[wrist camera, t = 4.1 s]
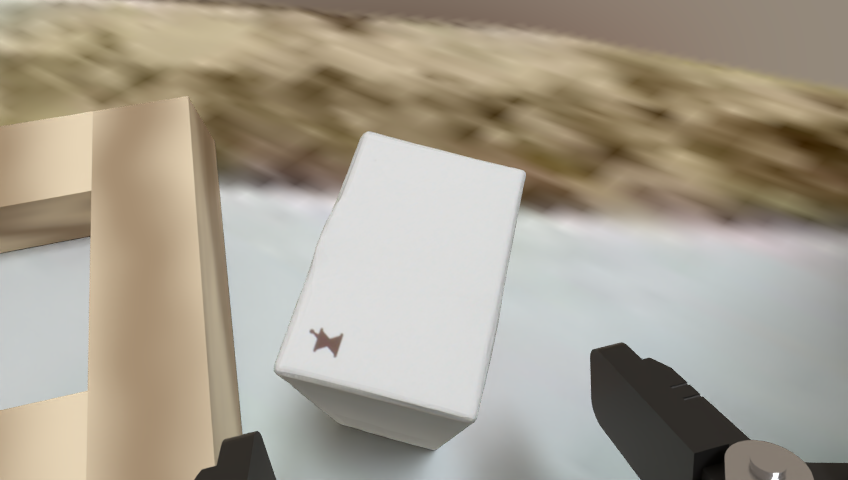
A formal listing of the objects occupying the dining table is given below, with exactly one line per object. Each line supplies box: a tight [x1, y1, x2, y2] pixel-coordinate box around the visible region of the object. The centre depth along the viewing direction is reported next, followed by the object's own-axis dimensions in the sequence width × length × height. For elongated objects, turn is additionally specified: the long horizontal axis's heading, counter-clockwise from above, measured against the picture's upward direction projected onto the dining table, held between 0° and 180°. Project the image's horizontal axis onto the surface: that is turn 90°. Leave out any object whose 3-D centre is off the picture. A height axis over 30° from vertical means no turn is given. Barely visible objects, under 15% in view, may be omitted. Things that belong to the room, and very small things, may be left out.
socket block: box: [0, 96, 242, 480], centre depth 20 cm, size 16×16×4 cm
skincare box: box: [274, 132, 526, 450], centre depth 16 cm, size 6×4×12 cm
